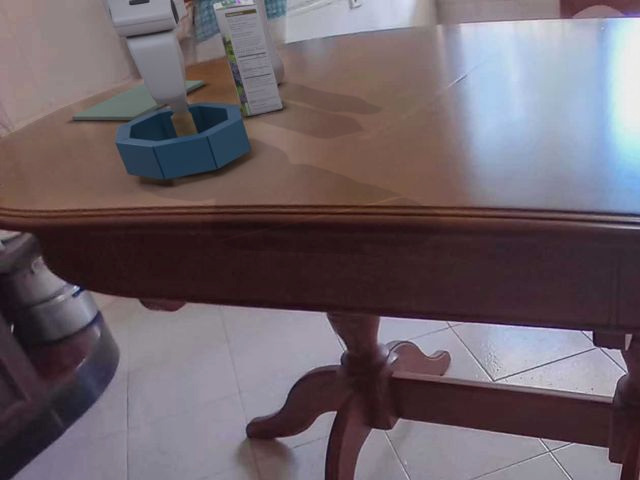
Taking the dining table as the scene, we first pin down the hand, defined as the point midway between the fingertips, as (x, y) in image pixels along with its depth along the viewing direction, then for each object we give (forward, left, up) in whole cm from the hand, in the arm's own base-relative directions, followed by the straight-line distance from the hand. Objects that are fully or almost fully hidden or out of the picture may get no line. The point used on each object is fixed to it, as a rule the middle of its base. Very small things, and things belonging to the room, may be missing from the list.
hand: (185, 120), depth 92 cm
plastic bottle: (+12, +23, -4) cm, 27 cm away
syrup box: (+10, +11, -4) cm, 16 cm away
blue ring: (0, -6, -2) cm, 7 cm away
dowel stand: (0, -7, -4) cm, 7 cm away
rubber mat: (-8, +29, -4) cm, 31 cm away
